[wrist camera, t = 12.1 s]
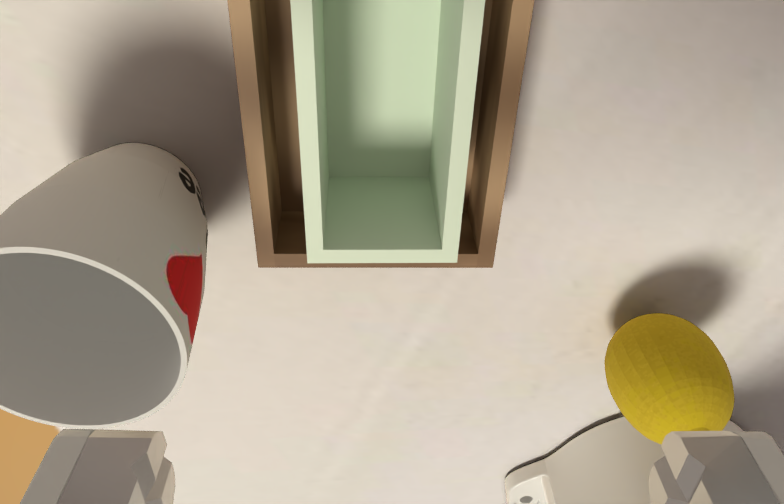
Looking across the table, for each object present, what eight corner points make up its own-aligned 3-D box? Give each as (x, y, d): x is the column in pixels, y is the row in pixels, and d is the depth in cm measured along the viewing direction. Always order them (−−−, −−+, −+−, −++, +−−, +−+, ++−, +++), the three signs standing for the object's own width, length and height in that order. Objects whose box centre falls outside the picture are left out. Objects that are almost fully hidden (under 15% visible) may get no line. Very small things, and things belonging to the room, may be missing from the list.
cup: (207, 284, 32) (155, 450, 24) (37, 231, 30) (-84, 394, 22) (258, 151, 28) (216, 298, 20) (64, 78, 26) (-74, 209, 17)
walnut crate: (478, 217, 30) (492, 267, 27) (269, 216, 30) (258, 267, 26) (529, -171, 21) (559, -164, 18) (231, -181, 21) (207, -177, 17)
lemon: (671, 357, 37) (738, 479, 30) (576, 358, 36) (624, 481, 30) (702, 282, 33) (785, 401, 27) (599, 282, 33) (658, 401, 26)
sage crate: (440, 182, 28) (456, 262, 23) (316, 181, 28) (307, 263, 23) (462, -98, 22) (492, -67, 17) (302, -102, 22) (285, -71, 17)
